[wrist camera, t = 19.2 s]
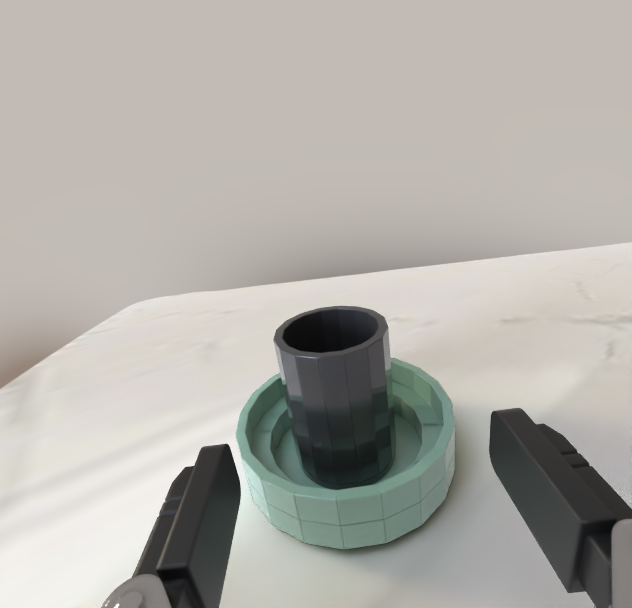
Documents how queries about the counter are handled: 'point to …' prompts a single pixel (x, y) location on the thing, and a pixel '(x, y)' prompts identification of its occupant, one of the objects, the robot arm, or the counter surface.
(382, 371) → the cup
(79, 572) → the counter surface
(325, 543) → the bowl
